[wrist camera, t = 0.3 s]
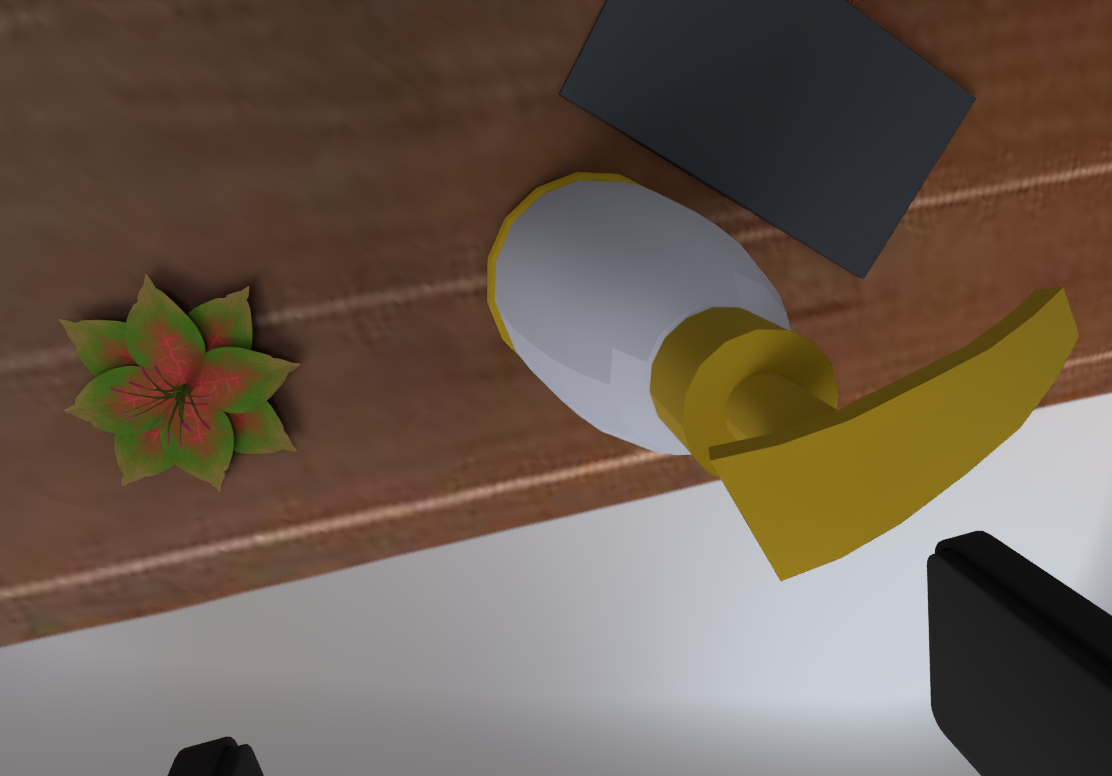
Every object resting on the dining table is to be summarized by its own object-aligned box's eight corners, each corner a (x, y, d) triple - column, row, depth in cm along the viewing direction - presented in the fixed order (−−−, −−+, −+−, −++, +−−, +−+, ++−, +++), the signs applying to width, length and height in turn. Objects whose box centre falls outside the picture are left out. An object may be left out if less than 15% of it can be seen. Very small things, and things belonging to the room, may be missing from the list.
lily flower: (107, 512, 39) (66, 556, 34) (20, 292, 35) (-39, 311, 30) (334, 465, 40) (322, 503, 36) (274, 248, 36) (253, 261, 32)
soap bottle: (726, 306, 41) (1180, 529, 16) (554, 416, 41) (741, 801, 16) (631, 124, 37) (1033, 52, 12) (442, 246, 37) (465, 416, 13)
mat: (669, -126, 34) (672, -130, 34) (970, 98, 40) (976, 98, 39) (558, 94, 36) (559, 93, 36) (859, 277, 42) (864, 279, 41)
